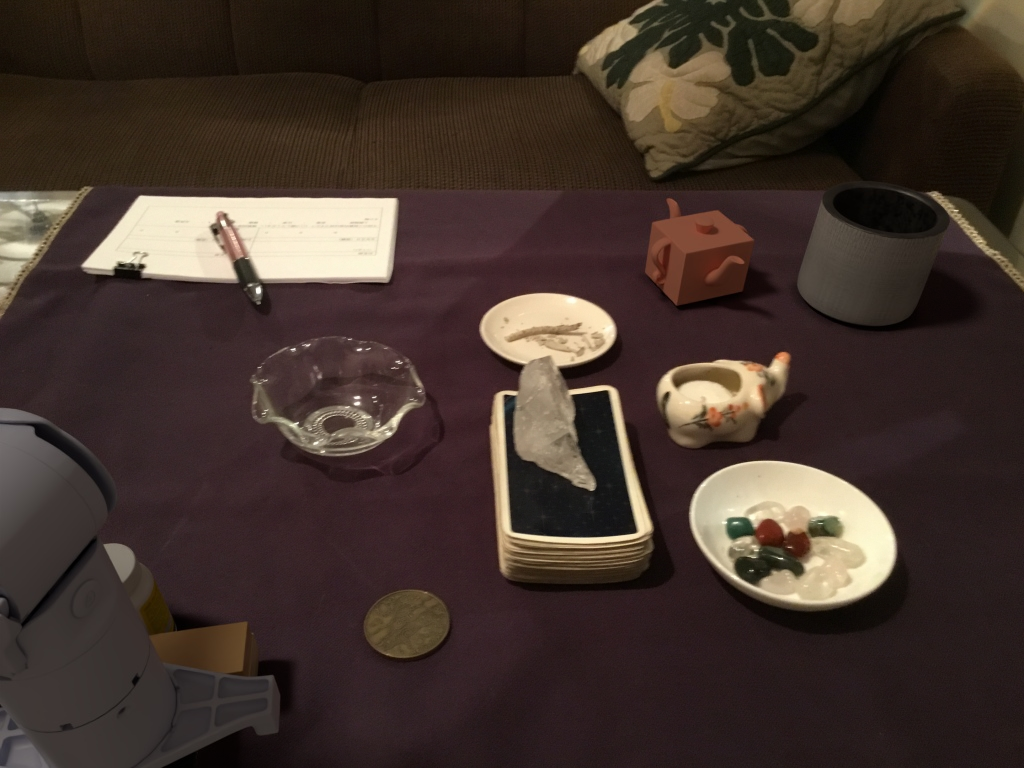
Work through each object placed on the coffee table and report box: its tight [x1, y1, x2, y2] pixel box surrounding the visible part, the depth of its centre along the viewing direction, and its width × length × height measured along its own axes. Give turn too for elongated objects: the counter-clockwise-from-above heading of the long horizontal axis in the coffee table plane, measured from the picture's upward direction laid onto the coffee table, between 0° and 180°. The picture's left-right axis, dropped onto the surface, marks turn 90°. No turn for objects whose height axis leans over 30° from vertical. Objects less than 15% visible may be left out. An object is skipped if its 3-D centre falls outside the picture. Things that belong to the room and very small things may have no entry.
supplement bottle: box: [103, 542, 178, 635], centre depth 51 cm, size 5×5×8 cm
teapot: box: [644, 197, 755, 307], centre depth 86 cm, size 12×15×8 cm
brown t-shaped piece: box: [149, 621, 260, 677], centre depth 45 cm, size 8×14×3 cm, turn 10°
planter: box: [796, 180, 951, 327], centre depth 84 cm, size 13×12×11 cm
